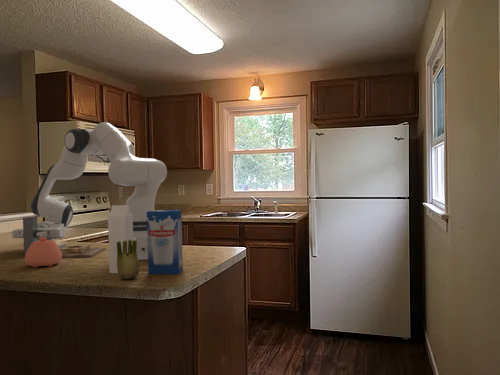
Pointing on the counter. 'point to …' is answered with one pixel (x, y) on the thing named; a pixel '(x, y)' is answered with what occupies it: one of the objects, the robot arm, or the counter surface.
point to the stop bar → (29, 232)
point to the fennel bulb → (127, 260)
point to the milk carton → (164, 242)
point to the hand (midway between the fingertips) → (29, 235)
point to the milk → (118, 232)
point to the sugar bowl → (43, 253)
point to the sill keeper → (79, 251)
